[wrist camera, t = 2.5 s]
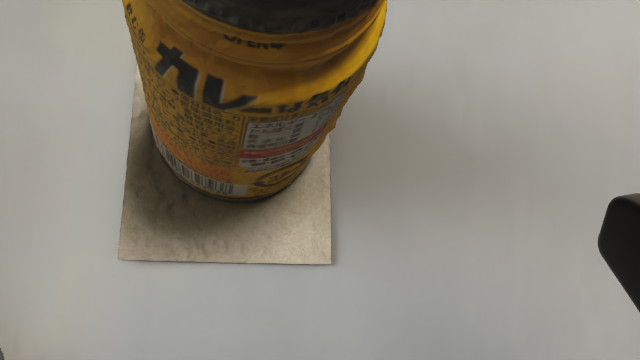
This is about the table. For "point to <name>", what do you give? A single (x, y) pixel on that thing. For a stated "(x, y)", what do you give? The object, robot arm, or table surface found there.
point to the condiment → (238, 125)
